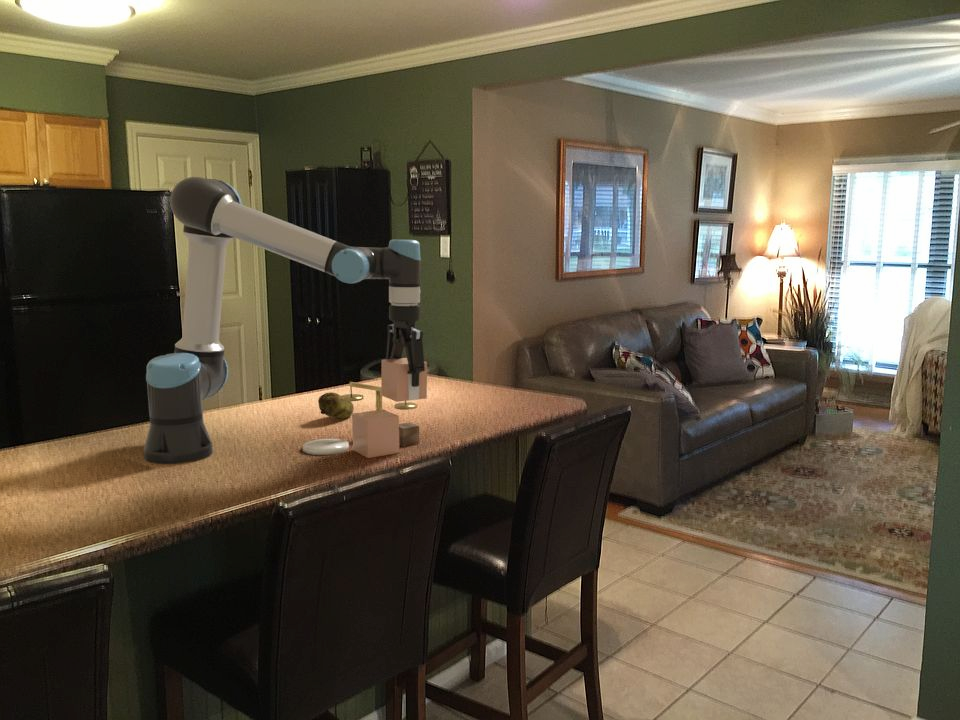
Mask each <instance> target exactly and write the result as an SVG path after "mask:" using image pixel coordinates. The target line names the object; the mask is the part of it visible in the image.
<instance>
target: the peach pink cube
mask: <svg viewBox="0 0 960 720" xmlns="http://www.w3.org/2000/svg"><path fill="white" fill-rule="evenodd" d="M424 366H425V371H422V372H420V373H419V399H415V400H414V401H416V400H424V399H427V397H428V395H427V393H428V392H427V391H428V362H427V361H424ZM408 371H410V370H409V365H408V360H407V357H401V358H398V359H386V358H385V359H381V375H380V376H381V379H380V380H381V382H380V383H381V386H380V387H381V396H382V397H384V398H387V399H389V400H392V401H393V402H396V403H401V402H405V401H406V402H409V401H410V400H408V373H407V372H408Z"/></svg>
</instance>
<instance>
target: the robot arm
mask: <svg viewBox="0 0 960 720" xmlns="http://www.w3.org/2000/svg"><path fill="white" fill-rule="evenodd" d="M173 187H174V188H173V189H172V191H171V193H170V197H169V204H170V209H171V213H172V214H173V215H174V217H175V218H176V219H177V220H178V222H180V223H181V224H183V228H182V229H183V235H184V236H185V237H186V238H187V239H188V242H189V243H188V244H189V245H188V253H187V255H188V257H187V269H186V283H185V284H186V285H185V295H184V309H183V310H184V312H183V322H182V324H183V326H182V337H181V339H179V340H178V341H177V342H176V343H175V344H174V352H173V353H166V354H165V355H164V354H163V355H159V356H156V357H153V358H152V359H151V360H149V361H148V362H147V365H146V373H145V381H146V388H147V400H148V413H149V429H148V432H147V435H146V440H145V443H144V446H143V456H144V457H143V458H144V460H145V461H146V462H148V463H152V464H162V465H165V464H166V465H171V464H173V465H174V464H184V463H190V462H191V463H192V462H195V461H196V462H197V461H199V460H203V459H206V458H207V457H209V456H211V455H212V454H213V451H214V450H213V448H214V447H213V442H212V439H211V436H210V435H209V432H208V430H207V427H206V425H205V423H204V417H203V415H204V414H203V401H204V400H205V399H207V398H210V397H212V396H214V395H216V394H217V393H218V392H220V391H221V389H223V387H224V386H225V384H226V383H227V380H228V377H229V365H228V363H227V360H226V359H225V346H224V345H223V344H222V343H221V341H220V329H221V328H220V327H221V316H222V305H223V304H222V303H223V293H224V283H225V281H224V279H225V270H226V256H227V246H228V244H229V243H230V242H232V241H233V240H234V239H237V240H241V241H242V242H245V243H246V244H251V245H253V246H256V247H258V248H261V249H264V250H266V251H269V252H270V253H274V254H277V255H279V256H282V257H284V258H287V259H289V260H292V261H295V262H297V263H300V264H303V265H305V266H308V267H310V268H312V269H315V270H318V271H321V272H324V273H326V274H328V275H331V276H333V277H335V278H336V279H337V280H338V281H340V282H342V283H346V284H350V285H351V284H357V283H360V282H361V281H363V280H376V279H377V280H388V302H389V303H390V305H389V306H388V319H389V320H390V321H392V322H393V321H394V322H393V324H387V338H386V339H387V340H386V351H385V353H386V354H385V359H398V358H403V357H402V356H403V352H404V349H405V355H406V358H407V360H408V365H409V370H410V371H408V372H407V373H408V400H409V401H416V400H415V399H418V400H420V399H419V373H420V372H422V371H425V366H424V362H425V355H424V345H423V344H424V342H423V335H424V332H423V330H422V329H420V330H419V329H417V326H416V322H417V321H420V319H421V306H420V303H421V292H422V291H421V270H422V269H421V268H422V267H421V266H422V265H421V264H422V263H421V262H422V258H421V243H420V242H419V241H418V240H415V239H390V240H389V242H388V246H387V247H369V246H368V247H365V246H350V245H348V244H344V243H342V242H340V241H337V240H333V239H332V238H329V237H327V236H323V235H321V234H318V233H316V232H314V231H312V230H308V229H306V228H303V227H300V226H298V225H295V224H294V223H290V222H288V221H287V220H286V221H285V220H283V219H280V218H277V217H276V216H272V215H269V214H267V213H264V212H262V211H260V210H257V209H254V208H252V207H249V206H247V205H244V204H243V201H242V199H241V197H240V194H239V193H238V191H237V190H236V189H235V188H234V187H233V186H232V185H231V184H229V183H227V182H224V181H223V180H219V179H216V178H205V177H202V176H190V177H187V178H184V179H181V180H180V181H179V182H177V183H176V184H175V186H173Z"/></svg>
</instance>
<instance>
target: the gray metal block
mask: <svg viewBox="0 0 960 720" xmlns="http://www.w3.org/2000/svg"><path fill="white" fill-rule="evenodd" d="M417 444H420V425H418V424H416V423H413V422H404V423H399V446H403V447H405V446H411V445H417Z"/></svg>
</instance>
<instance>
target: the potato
mask: <svg viewBox="0 0 960 720" xmlns="http://www.w3.org/2000/svg"><path fill="white" fill-rule="evenodd" d="M339 396H341V395H340V394H338V393H336V392H325V393H323V394H322V395H320V396H319V397H318V400H317V401H318V408H319V411H320V414H321V415H326V416H328V417H331V418H335V419H338V420H341V419H342V420H343V419H344V420H345V419H348V418H349V417H352V414H353V413H354V404H353V401H341V400H339Z"/></svg>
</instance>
